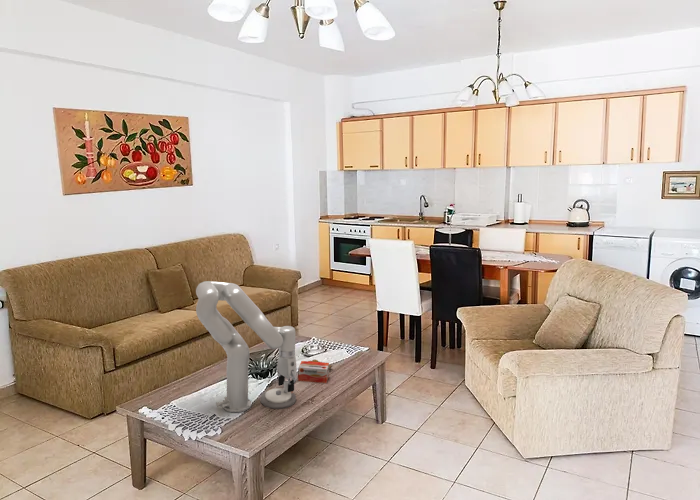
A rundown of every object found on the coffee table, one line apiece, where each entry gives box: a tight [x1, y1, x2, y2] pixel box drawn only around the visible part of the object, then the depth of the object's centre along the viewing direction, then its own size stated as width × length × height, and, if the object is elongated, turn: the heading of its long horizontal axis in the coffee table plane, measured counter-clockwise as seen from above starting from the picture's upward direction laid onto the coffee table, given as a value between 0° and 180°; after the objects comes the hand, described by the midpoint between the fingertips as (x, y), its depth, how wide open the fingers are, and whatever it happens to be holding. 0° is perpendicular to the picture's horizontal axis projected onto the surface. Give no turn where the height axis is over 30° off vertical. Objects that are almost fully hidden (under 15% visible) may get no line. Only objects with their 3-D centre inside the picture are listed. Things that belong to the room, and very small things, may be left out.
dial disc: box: [265, 380, 294, 403], centre depth 241 cm, size 14×12×6 cm
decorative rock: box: [309, 359, 333, 371], centre depth 277 cm, size 11×4×15 cm
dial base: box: [260, 391, 297, 410], centre depth 241 cm, size 16×16×4 cm
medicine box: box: [297, 360, 330, 384], centre depth 265 cm, size 15×8×8 cm, turn 85°
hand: (286, 387), depth 243 cm, fingers open, 7 cm apart
